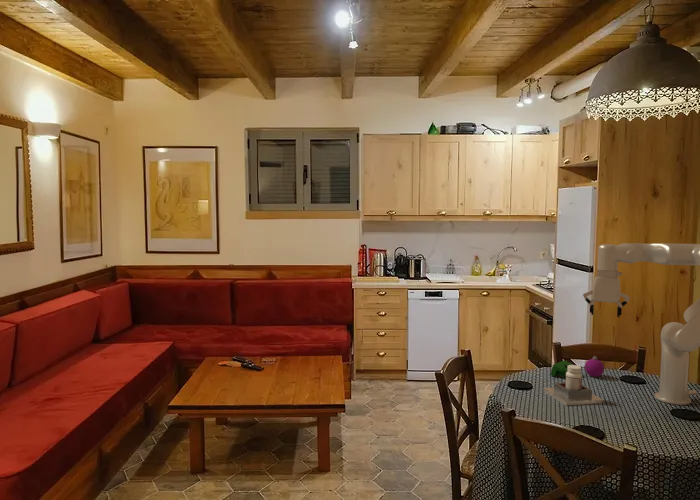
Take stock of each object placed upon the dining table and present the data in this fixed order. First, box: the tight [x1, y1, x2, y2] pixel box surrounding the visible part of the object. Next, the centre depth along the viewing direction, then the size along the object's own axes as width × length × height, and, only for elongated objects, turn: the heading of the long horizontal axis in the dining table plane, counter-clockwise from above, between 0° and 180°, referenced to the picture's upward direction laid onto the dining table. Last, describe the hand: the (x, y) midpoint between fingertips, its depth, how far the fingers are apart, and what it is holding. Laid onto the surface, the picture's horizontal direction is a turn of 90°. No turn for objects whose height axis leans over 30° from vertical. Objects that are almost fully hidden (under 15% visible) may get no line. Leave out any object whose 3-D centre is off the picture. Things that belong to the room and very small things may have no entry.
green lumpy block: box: [550, 359, 575, 379], centre depth 244 cm, size 12×6×9 cm, turn 126°
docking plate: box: [543, 381, 603, 407], centre depth 216 cm, size 16×16×4 cm
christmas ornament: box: [584, 356, 605, 378], centre depth 243 cm, size 8×8×10 cm
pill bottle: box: [565, 364, 583, 390], centre depth 216 cm, size 6×6×11 cm
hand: (605, 315), depth 217 cm, fingers open, 9 cm apart
